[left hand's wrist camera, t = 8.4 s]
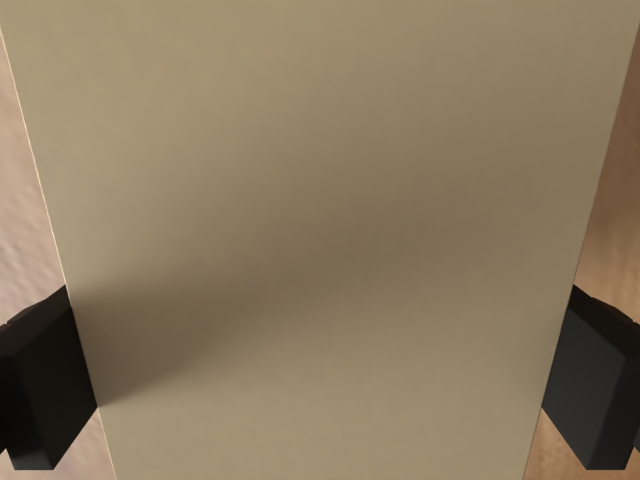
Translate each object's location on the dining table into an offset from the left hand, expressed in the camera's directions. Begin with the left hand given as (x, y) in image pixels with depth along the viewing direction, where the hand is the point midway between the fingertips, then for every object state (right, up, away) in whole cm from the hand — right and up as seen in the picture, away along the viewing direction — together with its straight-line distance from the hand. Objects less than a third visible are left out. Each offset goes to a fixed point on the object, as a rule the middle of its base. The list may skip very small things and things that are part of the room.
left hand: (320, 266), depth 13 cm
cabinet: (0, +8, +2) cm, 8 cm away
